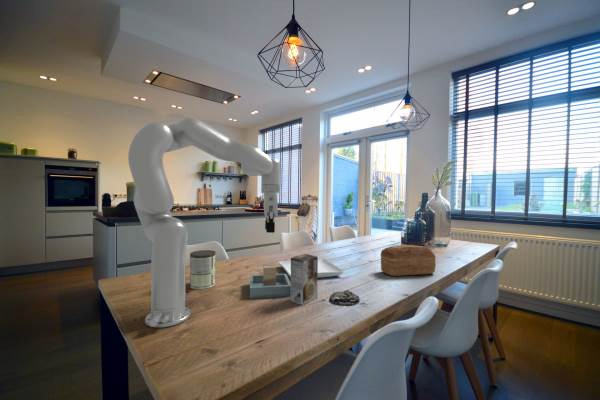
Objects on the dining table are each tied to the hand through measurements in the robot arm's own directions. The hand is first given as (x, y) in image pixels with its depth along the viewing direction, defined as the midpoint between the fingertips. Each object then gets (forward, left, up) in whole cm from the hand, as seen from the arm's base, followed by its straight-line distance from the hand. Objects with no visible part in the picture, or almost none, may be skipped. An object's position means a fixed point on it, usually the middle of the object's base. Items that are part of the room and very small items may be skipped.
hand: (269, 230), depth 107 cm
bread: (+14, -72, -25) cm, 78 cm away
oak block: (0, 0, -23) cm, 23 cm away
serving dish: (0, 0, -24) cm, 24 cm away
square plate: (+23, -22, -25) cm, 41 cm away
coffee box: (-12, -12, -25) cm, 30 cm away
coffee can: (+10, +28, -25) cm, 38 cm away
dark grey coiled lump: (-15, -27, -25) cm, 40 cm away
